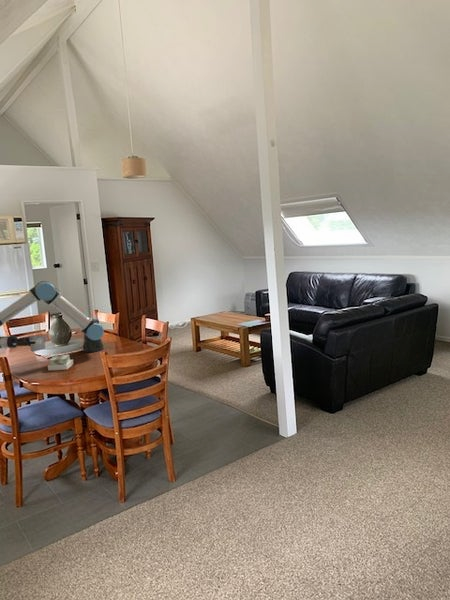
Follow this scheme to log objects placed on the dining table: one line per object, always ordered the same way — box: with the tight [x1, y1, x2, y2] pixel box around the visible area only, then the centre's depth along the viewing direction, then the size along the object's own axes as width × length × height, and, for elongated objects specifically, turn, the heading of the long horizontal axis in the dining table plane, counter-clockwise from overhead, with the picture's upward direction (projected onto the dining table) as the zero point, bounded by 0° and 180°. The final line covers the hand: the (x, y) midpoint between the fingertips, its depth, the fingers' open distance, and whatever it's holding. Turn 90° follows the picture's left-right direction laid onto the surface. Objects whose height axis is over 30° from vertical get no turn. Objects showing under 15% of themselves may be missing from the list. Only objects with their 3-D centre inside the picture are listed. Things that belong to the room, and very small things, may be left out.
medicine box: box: [29, 334, 46, 352], centre depth 290 cm, size 8×4×9 cm, turn 141°
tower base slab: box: [47, 359, 74, 371], centre depth 291 cm, size 12×12×4 cm
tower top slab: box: [48, 354, 71, 365], centre depth 290 cm, size 10×10×4 cm
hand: (44, 340), depth 289 cm, fingers closed on medicine box, 9 cm apart
